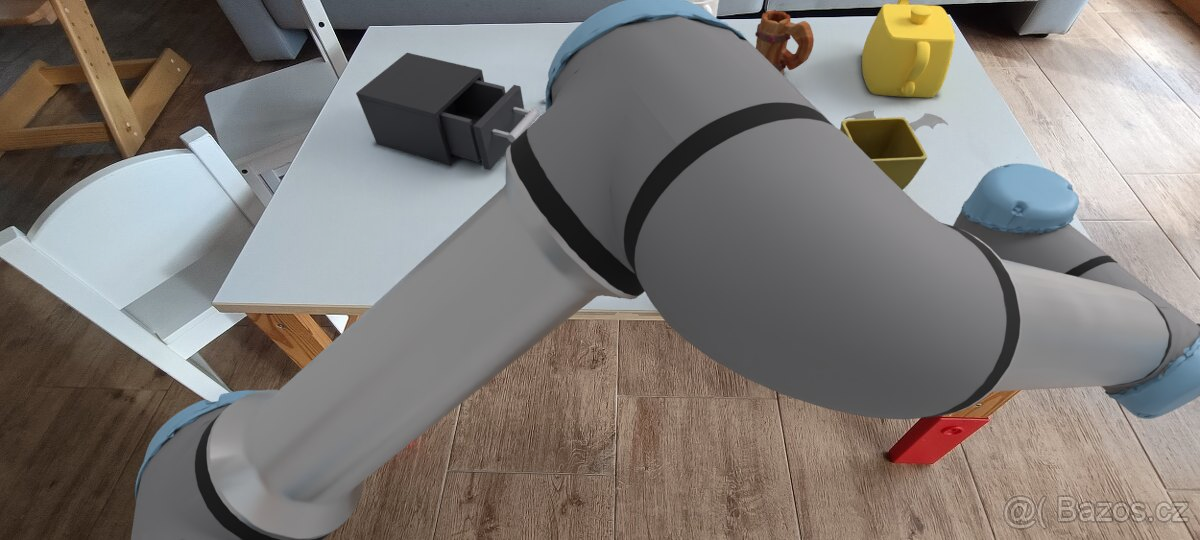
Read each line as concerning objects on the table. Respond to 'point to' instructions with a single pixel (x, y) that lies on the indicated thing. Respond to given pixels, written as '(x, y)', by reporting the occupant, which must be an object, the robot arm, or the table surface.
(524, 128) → the drawer
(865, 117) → the bat toy
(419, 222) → the table surface
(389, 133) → the cabinet
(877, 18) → the teapot
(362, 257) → the table surface
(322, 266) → the table surface
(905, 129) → the flower pot
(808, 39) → the mug
